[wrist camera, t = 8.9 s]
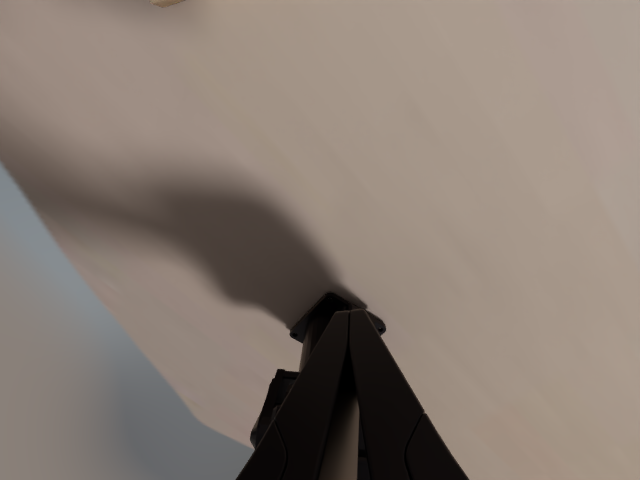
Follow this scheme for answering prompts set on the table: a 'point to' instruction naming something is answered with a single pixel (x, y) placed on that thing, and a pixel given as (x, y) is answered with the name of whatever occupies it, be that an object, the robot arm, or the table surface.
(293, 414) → the robot arm
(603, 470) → the table surface
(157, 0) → the chute
